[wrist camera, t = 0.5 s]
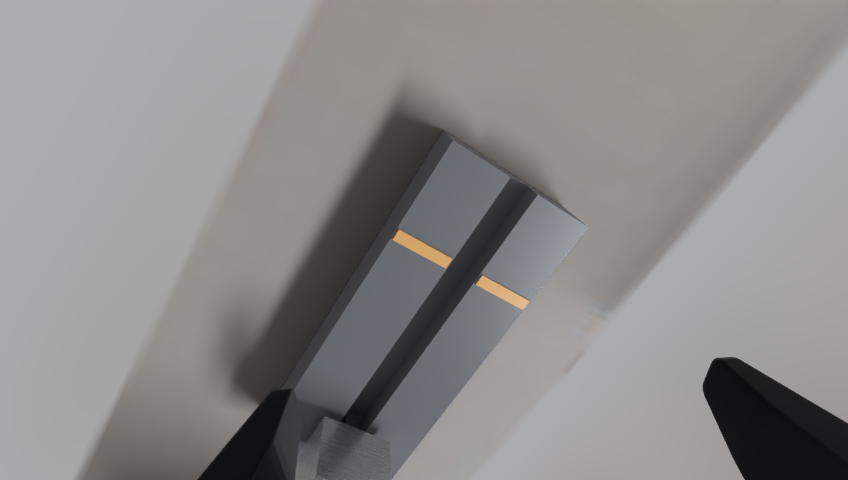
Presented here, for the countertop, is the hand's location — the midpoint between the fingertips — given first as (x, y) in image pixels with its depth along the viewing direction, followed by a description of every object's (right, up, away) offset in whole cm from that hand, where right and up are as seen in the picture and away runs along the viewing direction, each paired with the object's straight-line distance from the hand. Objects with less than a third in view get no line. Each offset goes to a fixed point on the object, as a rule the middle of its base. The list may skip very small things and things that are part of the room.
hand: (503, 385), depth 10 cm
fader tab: (-6, -8, +17) cm, 19 cm away
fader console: (-3, -1, +16) cm, 17 cm away
